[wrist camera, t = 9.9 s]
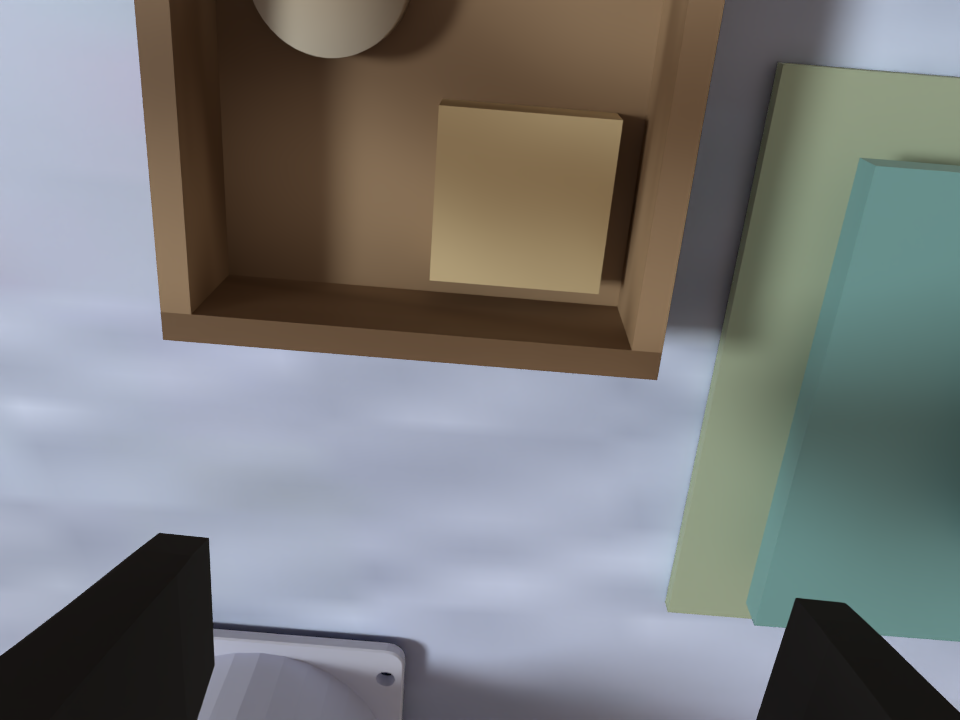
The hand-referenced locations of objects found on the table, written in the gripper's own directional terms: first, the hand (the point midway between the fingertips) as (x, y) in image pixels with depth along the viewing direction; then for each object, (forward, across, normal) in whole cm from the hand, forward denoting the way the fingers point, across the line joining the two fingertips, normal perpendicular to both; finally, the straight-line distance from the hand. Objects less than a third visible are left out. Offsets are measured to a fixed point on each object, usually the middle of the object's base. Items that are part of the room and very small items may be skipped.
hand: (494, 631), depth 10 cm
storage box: (+10, +2, -5) cm, 12 cm away
